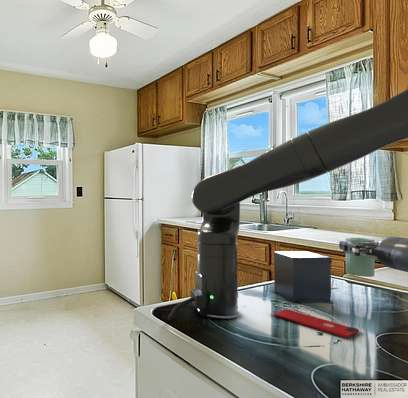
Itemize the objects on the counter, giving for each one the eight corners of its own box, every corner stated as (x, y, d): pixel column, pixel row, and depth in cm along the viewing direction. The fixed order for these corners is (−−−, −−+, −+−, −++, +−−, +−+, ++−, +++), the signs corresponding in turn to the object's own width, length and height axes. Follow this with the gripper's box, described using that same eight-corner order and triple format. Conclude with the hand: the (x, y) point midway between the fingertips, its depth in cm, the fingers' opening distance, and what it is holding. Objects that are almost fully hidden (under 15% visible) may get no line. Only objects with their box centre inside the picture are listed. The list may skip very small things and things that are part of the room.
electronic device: (273, 315, 76) (347, 338, 63) (273, 313, 76) (347, 335, 63) (286, 310, 79) (359, 331, 66) (286, 308, 79) (359, 329, 66)
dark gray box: (293, 302, 86) (293, 257, 86) (274, 291, 96) (274, 251, 96) (337, 302, 86) (336, 257, 86) (313, 291, 96) (313, 251, 96)
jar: (357, 276, 83) (357, 240, 83) (340, 271, 89) (340, 237, 89) (380, 276, 83) (380, 240, 83) (362, 271, 89) (362, 237, 89)
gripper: (441, 238, 72) (378, 231, 89) (376, 238, 72) (326, 231, 89) (441, 272, 72) (379, 258, 89) (376, 272, 72) (326, 258, 89)
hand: (352, 245), depth 89 cm, fingers closed on jar, 6 cm apart
